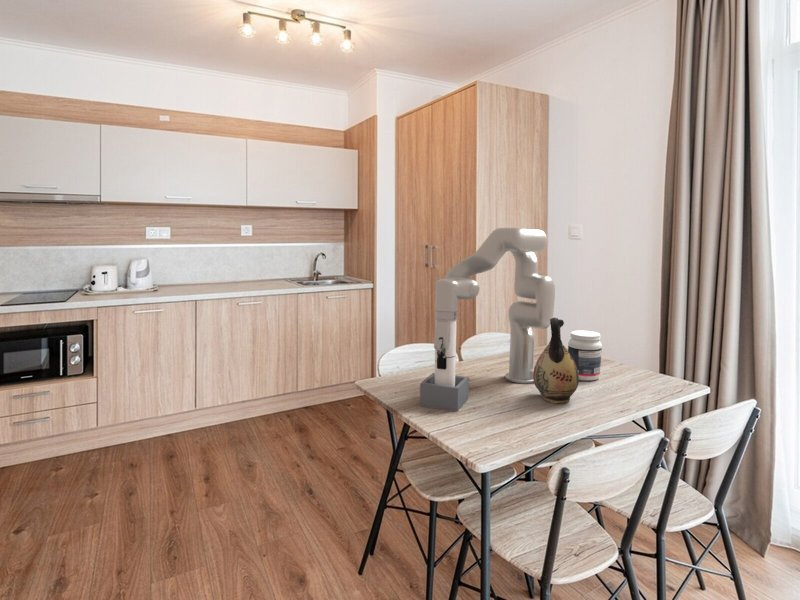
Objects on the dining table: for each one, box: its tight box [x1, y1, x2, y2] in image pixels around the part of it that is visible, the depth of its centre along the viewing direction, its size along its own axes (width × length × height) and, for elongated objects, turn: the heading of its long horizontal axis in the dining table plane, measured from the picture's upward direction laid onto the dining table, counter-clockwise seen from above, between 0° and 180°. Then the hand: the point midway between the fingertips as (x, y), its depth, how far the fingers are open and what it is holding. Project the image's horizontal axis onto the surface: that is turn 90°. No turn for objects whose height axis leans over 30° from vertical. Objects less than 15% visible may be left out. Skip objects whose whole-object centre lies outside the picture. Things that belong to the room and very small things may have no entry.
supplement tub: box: [567, 329, 603, 382], centre depth 199 cm, size 13×13×18 cm
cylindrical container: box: [434, 320, 457, 387], centre depth 169 cm, size 7×7×25 cm
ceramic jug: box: [533, 317, 580, 404], centre depth 172 cm, size 17×15×30 cm
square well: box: [419, 372, 470, 412], centre depth 170 cm, size 13×13×8 cm
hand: (445, 365), depth 169 cm, fingers closed on cylindrical container, 7 cm apart
